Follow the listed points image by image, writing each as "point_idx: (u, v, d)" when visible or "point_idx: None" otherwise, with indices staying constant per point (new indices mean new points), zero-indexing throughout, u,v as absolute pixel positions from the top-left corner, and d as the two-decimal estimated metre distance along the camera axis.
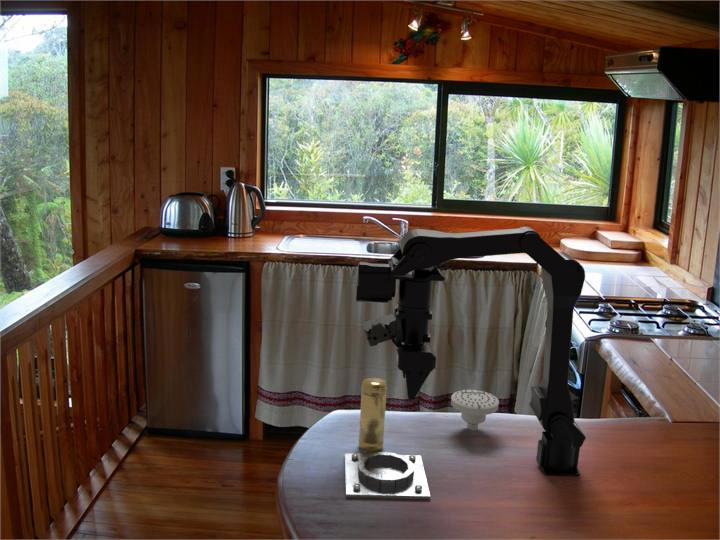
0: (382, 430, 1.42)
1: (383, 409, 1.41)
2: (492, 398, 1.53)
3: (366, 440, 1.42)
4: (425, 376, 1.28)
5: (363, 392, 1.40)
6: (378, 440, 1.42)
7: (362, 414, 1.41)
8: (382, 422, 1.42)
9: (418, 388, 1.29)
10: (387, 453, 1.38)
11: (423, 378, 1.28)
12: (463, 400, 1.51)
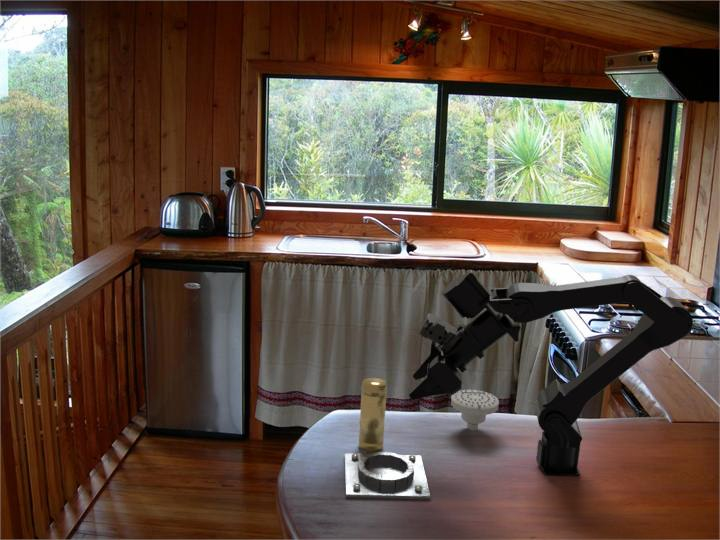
0: (382, 430, 1.42)
1: (383, 409, 1.41)
2: (492, 398, 1.53)
3: (366, 440, 1.42)
4: (438, 393, 1.33)
5: (363, 392, 1.40)
6: (378, 440, 1.42)
7: (362, 414, 1.41)
8: (382, 422, 1.42)
9: (423, 395, 1.34)
10: (387, 453, 1.38)
11: (435, 392, 1.33)
12: (463, 400, 1.51)
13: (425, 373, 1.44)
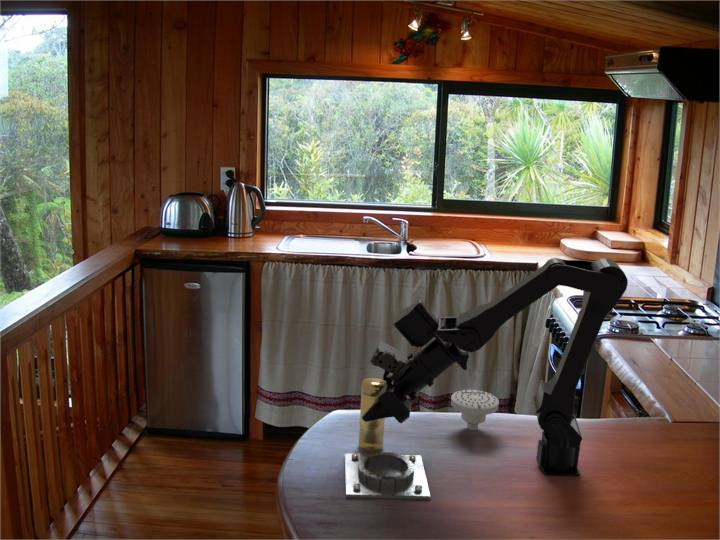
0: (382, 430, 1.42)
1: None
2: (492, 398, 1.53)
3: (366, 440, 1.42)
4: (389, 415, 1.38)
5: (363, 392, 1.40)
6: (377, 440, 1.42)
7: (362, 414, 1.41)
8: (382, 422, 1.42)
9: (375, 418, 1.39)
10: (387, 453, 1.38)
11: (386, 415, 1.38)
12: (463, 400, 1.51)
13: None
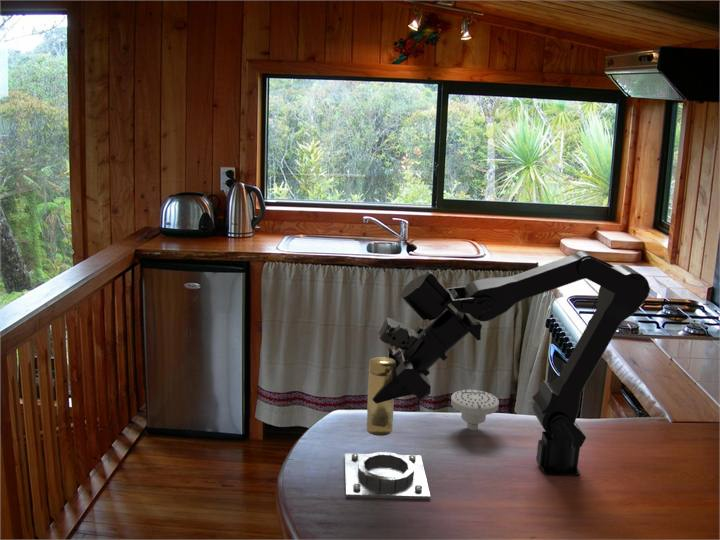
0: (392, 411, 1.35)
1: None
2: (492, 398, 1.53)
3: (377, 423, 1.34)
4: (403, 394, 1.31)
5: (372, 372, 1.32)
6: (388, 422, 1.34)
7: (371, 396, 1.33)
8: (392, 402, 1.34)
9: (388, 398, 1.32)
10: (387, 453, 1.38)
11: (400, 394, 1.31)
12: (463, 400, 1.51)
13: None
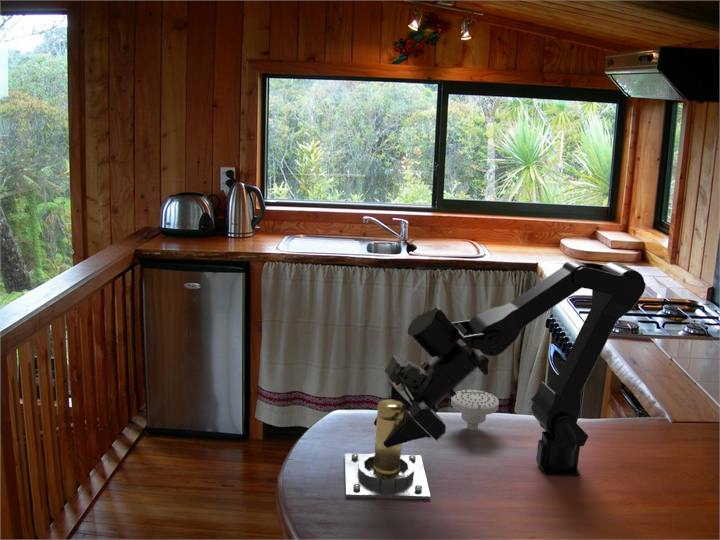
0: (400, 454, 1.32)
1: None
2: (492, 398, 1.53)
3: (386, 467, 1.31)
4: (416, 437, 1.27)
5: (382, 417, 1.29)
6: (397, 466, 1.32)
7: (381, 441, 1.30)
8: (401, 446, 1.32)
9: (400, 442, 1.27)
10: None
11: (412, 437, 1.27)
12: (463, 400, 1.51)
13: None
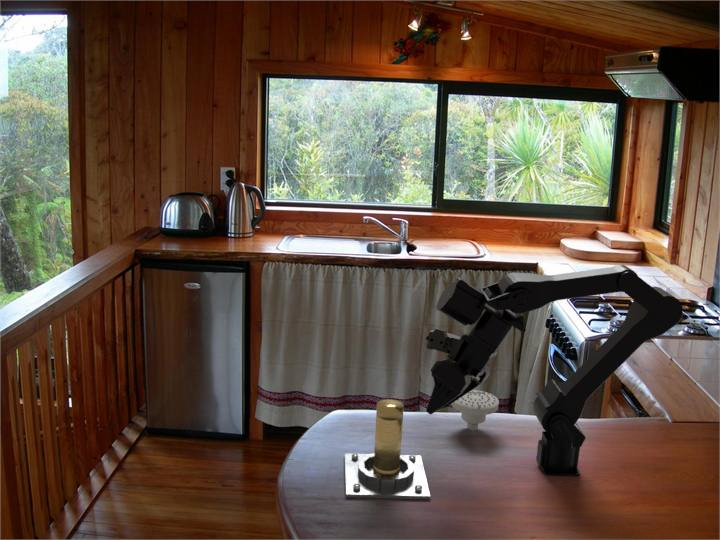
0: (400, 454, 1.32)
1: (401, 432, 1.31)
2: (492, 398, 1.53)
3: (386, 467, 1.31)
4: (450, 398, 1.29)
5: (381, 417, 1.29)
6: (397, 466, 1.32)
7: (380, 440, 1.30)
8: (400, 446, 1.32)
9: (438, 406, 1.31)
10: None
11: (447, 399, 1.29)
12: (463, 400, 1.51)
13: None
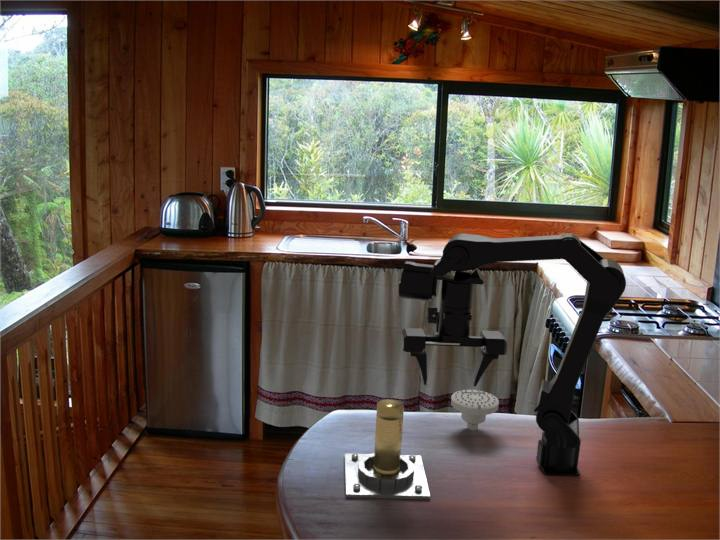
0: (400, 454, 1.32)
1: (401, 432, 1.31)
2: (492, 398, 1.53)
3: (386, 467, 1.31)
4: None
5: (381, 417, 1.29)
6: (397, 466, 1.32)
7: (380, 440, 1.30)
8: (400, 446, 1.32)
9: None
10: None
11: (419, 364, 1.39)
12: (463, 400, 1.51)
13: (475, 375, 1.41)
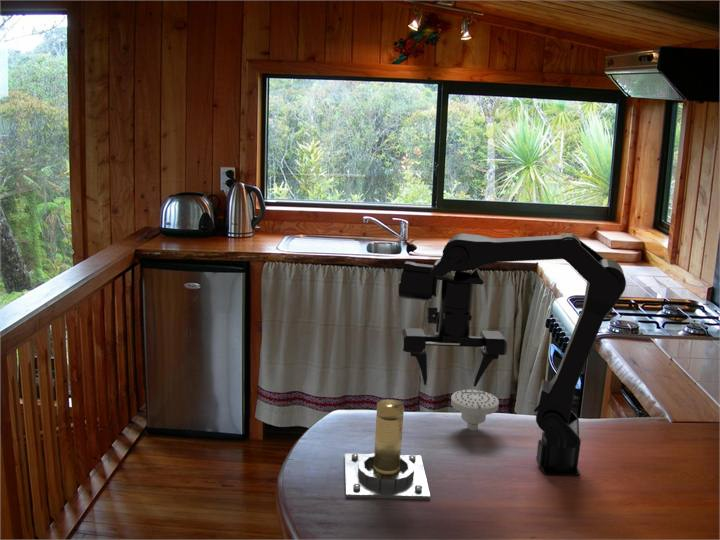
0: (400, 454, 1.32)
1: (401, 432, 1.31)
2: (492, 398, 1.53)
3: (386, 467, 1.31)
4: None
5: (381, 417, 1.29)
6: (397, 466, 1.32)
7: (380, 440, 1.30)
8: (400, 446, 1.32)
9: None
10: None
11: (419, 364, 1.39)
12: (463, 400, 1.51)
13: (475, 375, 1.41)
